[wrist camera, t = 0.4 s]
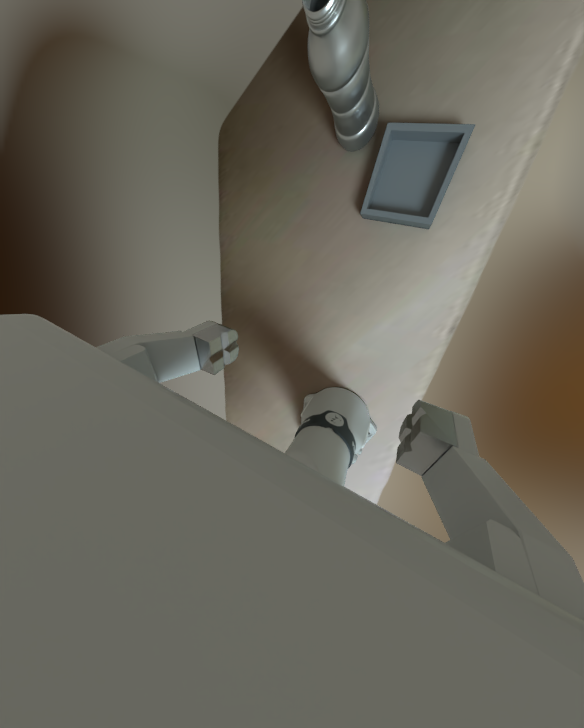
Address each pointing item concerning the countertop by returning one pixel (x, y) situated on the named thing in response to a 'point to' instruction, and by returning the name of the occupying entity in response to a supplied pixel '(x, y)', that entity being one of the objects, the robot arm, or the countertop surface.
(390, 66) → the countertop surface
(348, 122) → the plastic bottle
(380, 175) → the holder
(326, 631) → the robot arm
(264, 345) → the countertop surface
